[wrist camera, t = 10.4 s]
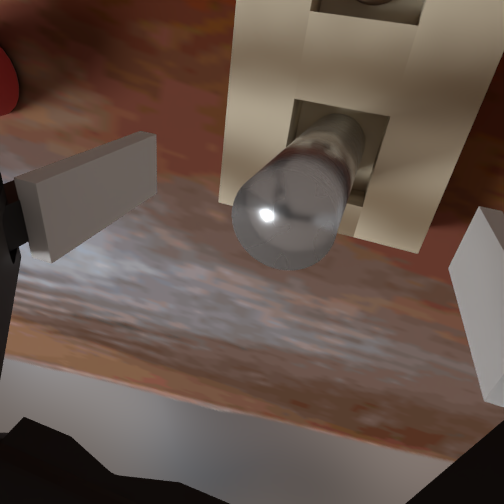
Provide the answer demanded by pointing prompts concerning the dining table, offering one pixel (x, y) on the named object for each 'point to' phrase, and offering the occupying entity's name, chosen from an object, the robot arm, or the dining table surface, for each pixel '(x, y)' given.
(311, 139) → the steel pin
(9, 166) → the dining table surface
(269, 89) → the socket block
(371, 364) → the dining table surface
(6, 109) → the beer can
